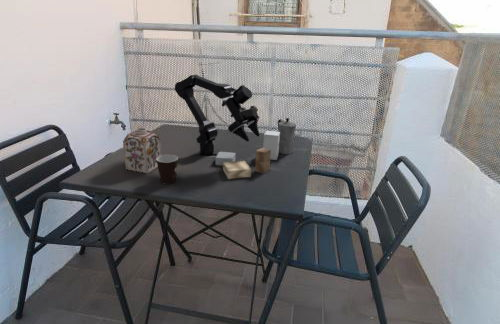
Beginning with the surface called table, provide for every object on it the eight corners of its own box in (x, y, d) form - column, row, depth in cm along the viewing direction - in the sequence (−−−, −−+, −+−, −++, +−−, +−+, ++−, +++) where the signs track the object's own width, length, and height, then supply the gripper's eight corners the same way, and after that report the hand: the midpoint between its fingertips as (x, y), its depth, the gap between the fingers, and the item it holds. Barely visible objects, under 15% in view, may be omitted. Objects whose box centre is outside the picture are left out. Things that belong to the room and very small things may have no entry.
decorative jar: (125, 169, 148) (120, 130, 141) (141, 160, 158) (138, 124, 151) (147, 174, 144) (144, 134, 138) (163, 164, 154) (160, 127, 148)
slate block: (215, 165, 157) (215, 157, 155) (219, 159, 164) (219, 151, 163) (232, 166, 156) (232, 158, 154) (235, 160, 163) (235, 152, 162)
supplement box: (276, 160, 164) (278, 135, 160) (262, 158, 166) (263, 134, 161) (278, 155, 171) (280, 131, 166) (264, 153, 172) (265, 130, 168)
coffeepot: (299, 154, 173) (302, 120, 167) (284, 156, 170) (286, 122, 163) (283, 145, 186) (286, 113, 179) (269, 147, 182) (271, 114, 176)
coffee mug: (168, 187, 133) (167, 164, 130) (153, 181, 138) (151, 159, 134) (188, 177, 143) (187, 155, 139) (173, 172, 147) (172, 151, 143)
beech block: (228, 179, 143) (228, 171, 141) (223, 170, 151) (223, 162, 150) (250, 177, 146) (251, 168, 144) (244, 168, 154) (244, 160, 153)
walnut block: (255, 171, 151) (256, 150, 147) (261, 167, 155) (262, 147, 151) (263, 173, 149) (264, 152, 145) (269, 170, 153) (270, 149, 149)
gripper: (236, 103, 141) (255, 135, 140) (258, 97, 155) (275, 125, 155) (219, 116, 147) (238, 147, 147) (242, 109, 162) (259, 136, 162)
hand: (253, 138), depth 153 cm, fingers open, 9 cm apart
